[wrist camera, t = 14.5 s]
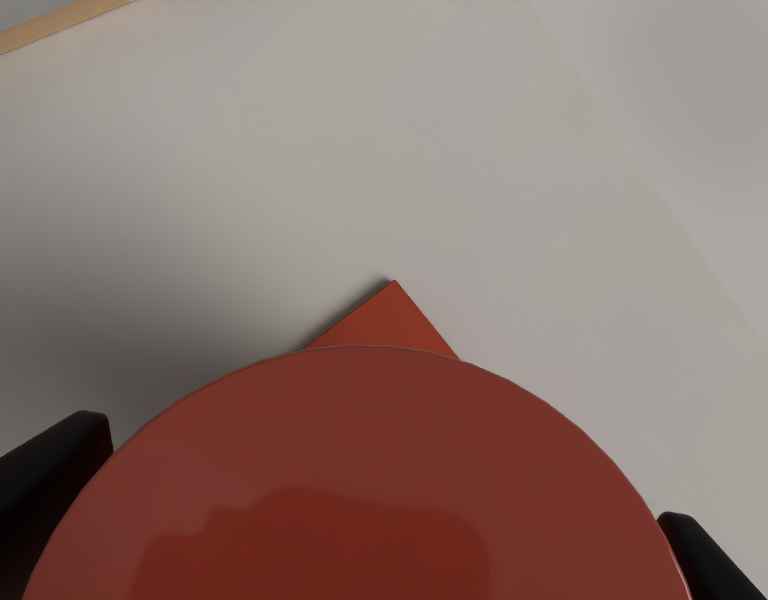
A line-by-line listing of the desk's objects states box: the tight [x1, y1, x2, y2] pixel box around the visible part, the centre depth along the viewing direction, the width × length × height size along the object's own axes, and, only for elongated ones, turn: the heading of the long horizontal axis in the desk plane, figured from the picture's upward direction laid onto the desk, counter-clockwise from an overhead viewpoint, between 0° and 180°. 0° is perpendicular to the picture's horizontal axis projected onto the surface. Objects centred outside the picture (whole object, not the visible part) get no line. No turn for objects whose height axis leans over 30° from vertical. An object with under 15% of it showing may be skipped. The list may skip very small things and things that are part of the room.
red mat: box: [303, 280, 460, 360], centre depth 16 cm, size 9×9×1 cm
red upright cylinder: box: [22, 345, 693, 600], centre depth 10 cm, size 6×6×11 cm
